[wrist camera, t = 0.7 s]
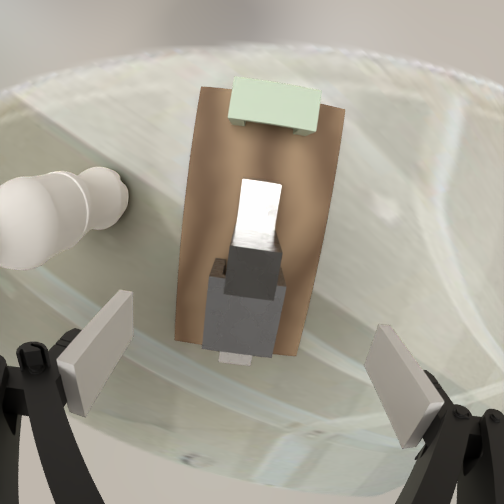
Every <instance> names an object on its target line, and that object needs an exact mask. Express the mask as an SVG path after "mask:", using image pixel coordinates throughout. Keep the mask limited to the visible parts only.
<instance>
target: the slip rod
mask: <svg viewBox="0 0 504 504" xmlns="http://www.w3.org/2000/svg"><path fill="white" fill-rule="evenodd" d="M281 187H282V184H280V183H279V182H275V181H269V180H262V179H255V178H248V177H243V181H242V188H241V194H240V201H239V208H238V216H237V223H236V224H235V227H234V231H233V235H232V238H231V242H230V247H229V254H228V262H227V270H226V278H225V285H224V293H223V294H226V295H233V296H240V297H247V298H255V299H262V300H270V301H274V298H275V292H276V287H277V282H278V276H279V271H280V266H281V260H282V255H283V252H282V249H281V246H280V242H279V239H278V236H277V233H276V230H275V224H276V218H277V211H278V205H279V199H280V193H281ZM251 360H252V356H251V355H243V354H236V353H228V352H221V351H220V353H219V361H218V362H223V363H231V364H238V365H246V366H250V365H251Z"/></svg>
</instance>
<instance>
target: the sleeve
mask: <svg viewBox="0 0 504 504" xmlns="http://www.w3.org/2000/svg"><path fill="white" fill-rule="evenodd" d="M225 263H226V259H221V258H215V261H214V264H213V266H212V269H211V272H210V275H209V280H208V290H207V300H206V310H205V320H204V331H203V342H202V349H207V350H214V351H221V352H228V353H236V354H243V355H251V356H260V357H269V358H272V354H273V349H274V345H275V340H276V335H277V331H278V326H279V321H280V316H281V312H282V307H283V302H284V297H285V292H286V283H285V279H284V275H283V271H282V267H280V271H279V276H278V282H277V287H276V292H275V298H274V301H270V300H262V299H255V298H247V297H240V296H233V295H226V294H223V293H224V285H225V278H226V275H224V271H225Z"/></svg>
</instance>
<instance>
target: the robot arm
mask: <svg viewBox="0 0 504 504" xmlns="http://www.w3.org/2000/svg"><path fill="white" fill-rule="evenodd" d="M133 337H134V329H133V292H131V291H126V290H119V291H118V292H117V293H116V294H115V295H114V296H113V297H112V298H111V299H110V300H109V301H108V302H107V303H106V304H105V306H104V307H103V308H102V309H101V310H100V311H99V312H98V313H97V314H96V315H95V316H94V318H93V319H92V320H91V321H90V322H89V323H88V324H87V325H86V326H85V327H84V329H83V330H80V329H76V328H74V329H72V330H70V331H68V332H66V333H65V334H64V335H63V336H62V337H61V338H60V340H58V341H57V342H56V345H54V346H53V347H52V348H51V349H50V350H49V351H48V349H47V347H46V346H45V345H44V344H42V343H39V342H27V343H24V344H22V345H21V346H19V348H18V349H17V352H16V355H17V358H18V362H19V366H20V367H12V366H7V363H6V360H5V359H4V357H2V356H1V355H0V504H19V499H18V498H19V496H18V461H19V460H18V459H19V441H20V428H21V417H22V415H24V416H29V418H30V422H31V427H32V431H33V435H34V439H35V443H36V447H37V450H38V453H39V457H40V460H41V464H42V467H43V470H44V473H45V476H46V479H47V482H48V485H49V488H50V490H51V493H52V496H53V498H54V501H55V504H105V503H104V501H103V499H102V497H101V495H100V494H99V491H98V490H97V488H96V485H95V483H94V481H93V479H92V477H91V475H90V473H89V471H88V469H87V466H86V464H85V462H84V460H83V457H82V455H81V453H80V450H79V448H78V446H77V443H76V441H75V438H74V436H73V433H72V430H71V427H70V425H69V422H68V419H67V416H66V413H65V410H64V408H63V407H64V406H65V404H66V403H67V405H68V408H69V412H71V413H74V414H77V415H80V416H83V417H86V416H87V414H88V412H89V410H90V409H91V407H92V405H93V403H94V402H95V400H96V398H97V397H98V395H99V393H100V391H101V390H102V388H103V386H104V385H105V383H106V381H107V380H108V378H109V376H110V375H111V373H112V371H113V370H114V368H115V366H116V365H117V363H118V361H119V360H120V358H121V356H122V355H123V353H124V351H125V350H126V348H127V347H128V345H129V343H130V342H131V340H132V339H133ZM364 367H365V369H366V371H367V373H368V375H369V377H370V379H371V381H372V383H373V385H374V388H375V390H376V392H377V394H378V396H379V398H380V400H381V403H382V405H383V407H384V409H385V411H386V413H387V416H388V418H389V420H390V422H391V424H392V427H393V429H394V431H395V433H396V436H397V438H398V440H399V442H400V445H401V447H402V449H404V448H411V447H416V446H417V445H418V444H419V442H420V441H421V439H422V438H423V439H424V441H425V445H424V446H423V448H422V449H421V451H420V452H419V453H418V455H417V456H416V457H415V460H417V461H416V463H415V465H414V467H413V470H412V472H411V474H410V476H409V478H408V480H407V482H406V484H405V486H404V488H403V490H402V492H401V494H400V496H399V498H398V499H397V501H396V503H395V504H450V502H451V499H452V496H453V493H454V490H455V487H456V484H457V504H504V415H503V414H502V412H500V411H499V410H495V409H488V410H486V412H485V413H484V415H483V416H482V417H477V416H472V414H471V413H470V411H469V410H468V409H467V408H465V407H464V406H461V405H458V404H453V403H452V401H451V400H450V398H449V397H448V396H447V394H446V393H445V391H444V390H443V389H442V387H441V386H440V384H438V381H437V380H436V379H435V377H434V376H433V375H432V374H431V373H429V372H428V371H427V370H423V369H422V368H421V367H420V365H419V364H418V362H417V361H416V360H415V358H414V357H413V355H412V354H411V353H410V351H409V350H408V348H407V347H406V346H405V344H404V343H403V342H402V340H401V339H400V337H399V336H398V335H397V333H396V332H395V331H394V329H393V328H392V327H391V325H383V324H378V327H377V330H376V333H375V336H374V339H373V342H372V344H371V347H370V350H369V353H368V355H367V358H366V361H365V363H364Z"/></svg>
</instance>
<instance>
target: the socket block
mask: <svg viewBox="0 0 504 504" xmlns="http://www.w3.org/2000/svg"><path fill="white" fill-rule="evenodd" d="M321 94H322V91H321V90H316V89H311V88H306V87H301V86H296V85H290V84H284V83H278V82H272V81H266V80H259V79H251V78H243V77H235V76H234V82H233V87H232V93H231V100H230V106H229V112H228V119H229V121H230V122H231V124H232V125H238V126H245V122H246V121H248V122H255V123H262V124H269V125H275V126H281V127H287V128H293V134H296V135H302V136H307V135H309V134H312V133H314V132H316V129H317V122H318V115H319V108H320V101H321Z"/></svg>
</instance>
